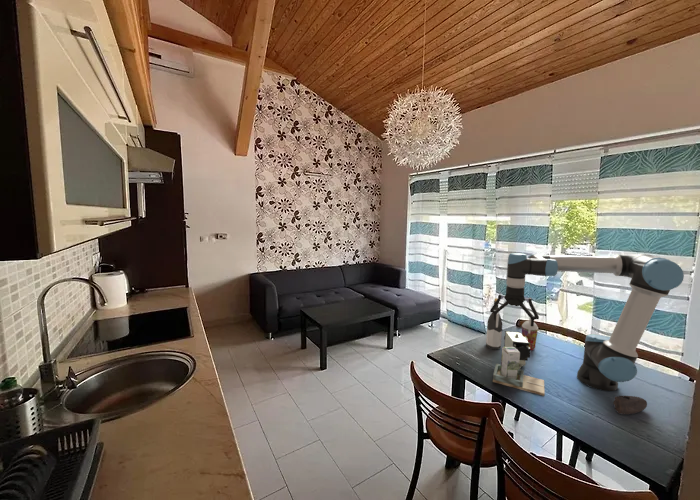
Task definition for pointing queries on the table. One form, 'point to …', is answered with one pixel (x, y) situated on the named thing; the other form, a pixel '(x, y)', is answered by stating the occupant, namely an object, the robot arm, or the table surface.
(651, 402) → the table surface
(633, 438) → the table surface
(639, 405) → the perforated stone tool
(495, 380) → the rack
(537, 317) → the robot arm
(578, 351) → the table surface
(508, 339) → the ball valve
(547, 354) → the table surface
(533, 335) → the smoothie
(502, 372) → the syrup box
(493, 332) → the wine bottle
